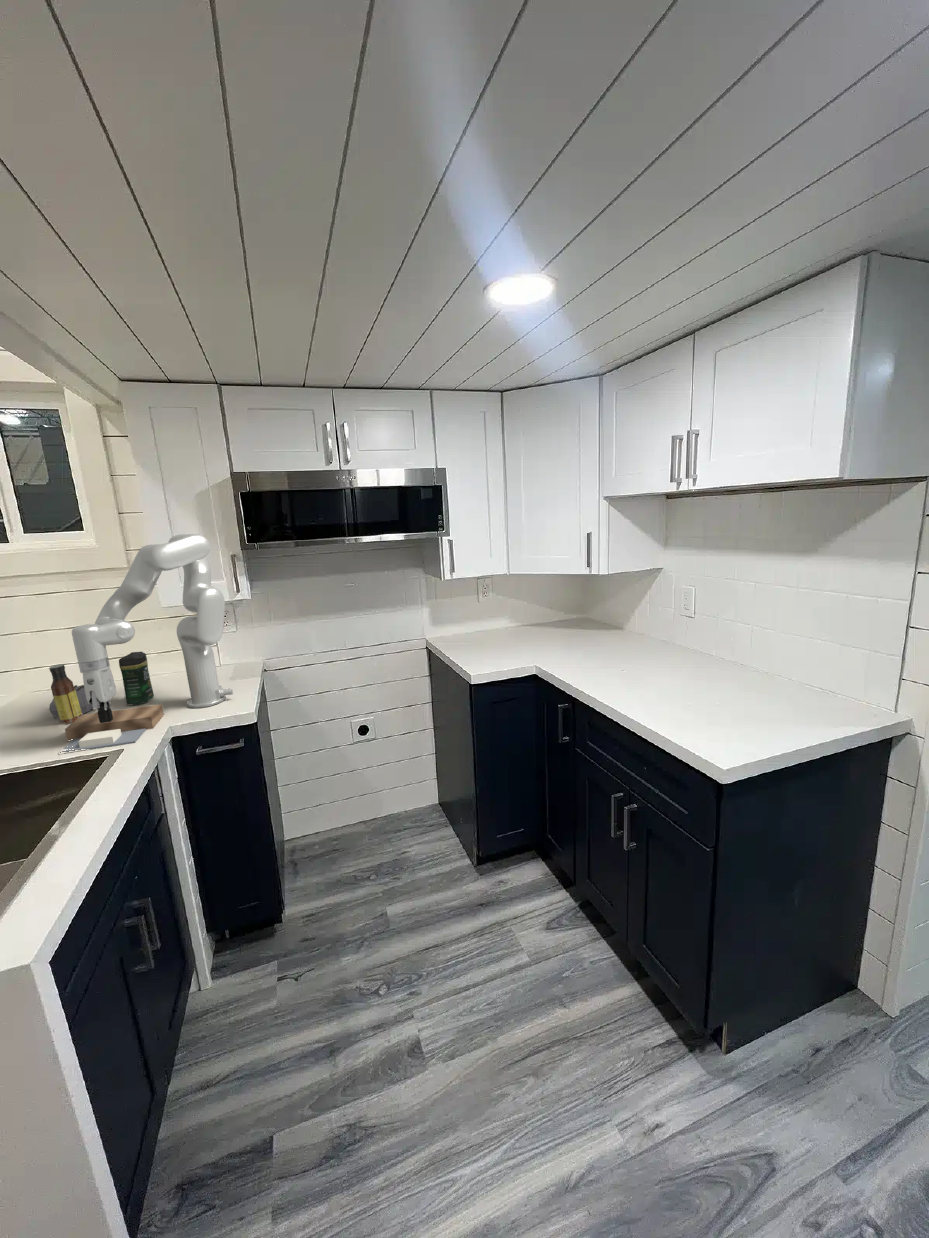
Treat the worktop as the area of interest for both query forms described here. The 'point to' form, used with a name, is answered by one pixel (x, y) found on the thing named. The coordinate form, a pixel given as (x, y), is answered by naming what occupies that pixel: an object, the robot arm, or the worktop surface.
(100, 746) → the grey mat
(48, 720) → the worktop surface
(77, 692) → the small grey backpack
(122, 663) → the coffee jar
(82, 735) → the walnut board
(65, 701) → the sauce bottle
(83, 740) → the cream tile
